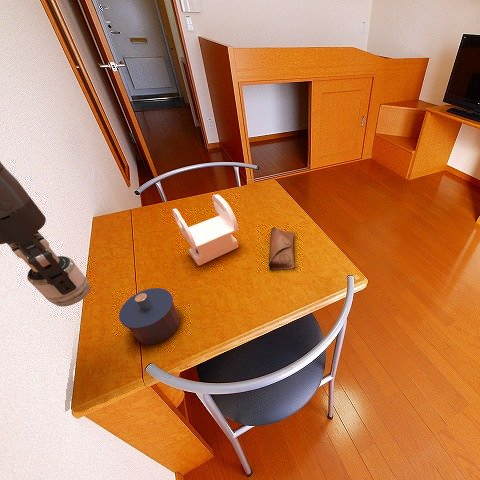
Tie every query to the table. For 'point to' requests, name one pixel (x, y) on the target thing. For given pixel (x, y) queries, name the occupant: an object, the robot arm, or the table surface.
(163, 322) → the pot
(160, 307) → the pot lid
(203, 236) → the tape dispenser
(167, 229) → the table surface
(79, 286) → the camera lens
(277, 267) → the sunglasses case
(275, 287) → the table surface
